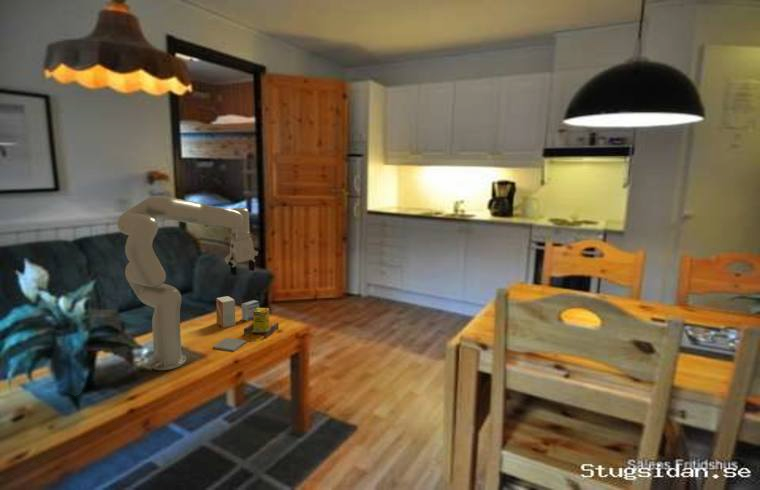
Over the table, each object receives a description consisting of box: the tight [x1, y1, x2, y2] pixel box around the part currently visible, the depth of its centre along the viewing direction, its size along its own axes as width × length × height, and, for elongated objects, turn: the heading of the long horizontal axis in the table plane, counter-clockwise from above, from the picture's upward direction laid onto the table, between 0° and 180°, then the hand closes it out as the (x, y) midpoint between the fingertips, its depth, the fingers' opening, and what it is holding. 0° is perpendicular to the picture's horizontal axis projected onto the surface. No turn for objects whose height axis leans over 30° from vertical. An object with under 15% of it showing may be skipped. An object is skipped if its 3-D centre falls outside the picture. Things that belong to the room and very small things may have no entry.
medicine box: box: [241, 299, 260, 322], centre depth 213 cm, size 8×4×9 cm, turn 150°
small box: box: [215, 295, 236, 329], centre depth 203 cm, size 8×6×13 cm
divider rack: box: [243, 322, 279, 339], centre depth 197 cm, size 12×11×3 cm
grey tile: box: [212, 337, 248, 352], centre depth 181 cm, size 10×10×1 cm
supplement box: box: [252, 307, 270, 335], centre depth 196 cm, size 6×6×11 cm
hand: (242, 272), depth 188 cm, fingers open, 9 cm apart
